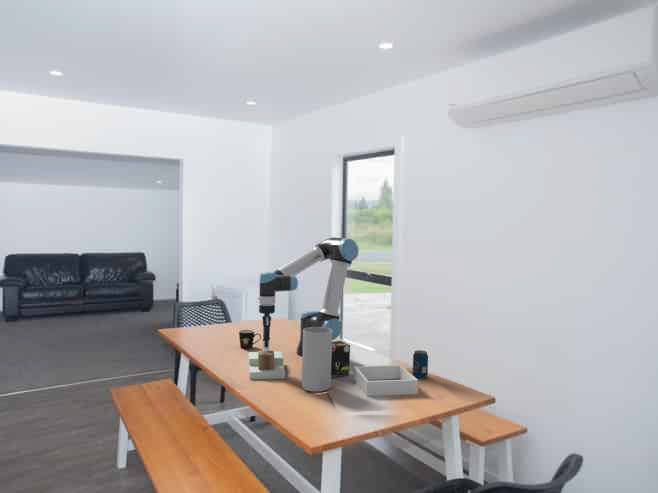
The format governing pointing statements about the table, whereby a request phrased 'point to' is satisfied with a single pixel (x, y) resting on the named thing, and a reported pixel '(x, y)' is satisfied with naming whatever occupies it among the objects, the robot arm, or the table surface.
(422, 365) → the soda can
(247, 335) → the coffee mug
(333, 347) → the tampon box
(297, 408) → the table surface
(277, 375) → the steps
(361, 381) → the tray
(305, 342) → the cylinder vase
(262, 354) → the cube
